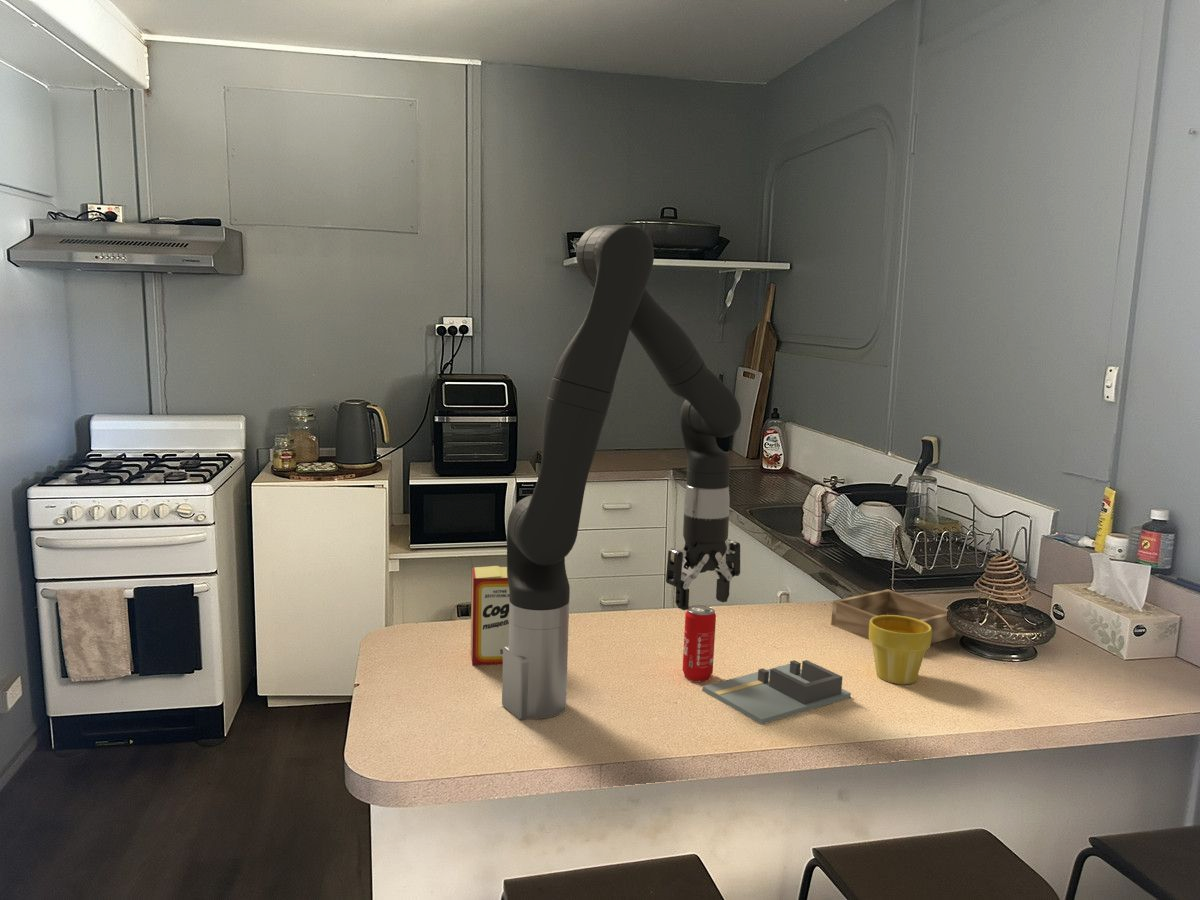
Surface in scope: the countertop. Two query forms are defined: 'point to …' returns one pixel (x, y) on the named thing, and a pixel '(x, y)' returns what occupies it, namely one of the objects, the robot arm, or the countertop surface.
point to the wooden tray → (862, 608)
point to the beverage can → (699, 643)
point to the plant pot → (899, 646)
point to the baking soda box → (489, 615)
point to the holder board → (780, 691)
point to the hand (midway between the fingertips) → (702, 604)
